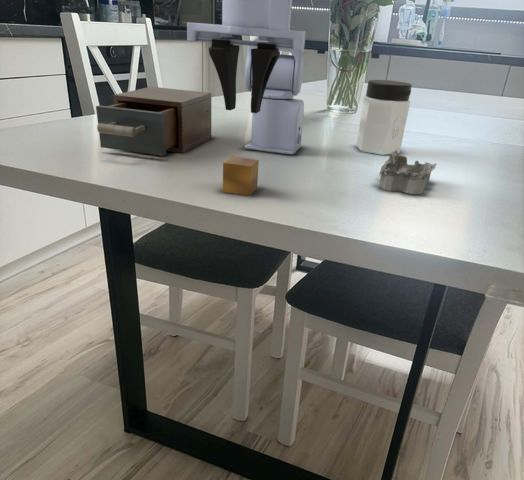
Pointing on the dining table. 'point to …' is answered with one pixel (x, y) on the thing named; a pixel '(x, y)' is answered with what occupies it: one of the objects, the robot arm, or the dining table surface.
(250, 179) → the block
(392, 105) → the jar
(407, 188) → the egg carton
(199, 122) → the cabinet
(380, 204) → the dining table surface
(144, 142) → the drawer
